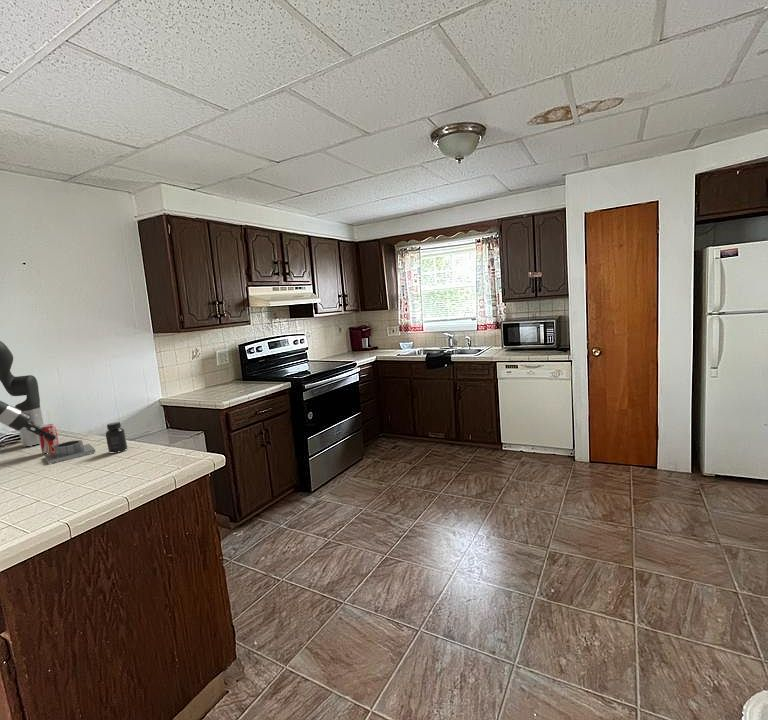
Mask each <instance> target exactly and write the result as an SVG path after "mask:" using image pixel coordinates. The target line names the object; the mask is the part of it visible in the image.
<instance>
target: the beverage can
mask: <svg viewBox="0 0 768 720" xmlns="http://www.w3.org/2000/svg"><path fill="white" fill-rule="evenodd" d="M40 427H42V428H43V430H45V431H47V432H48V433H50V434H52V435H54V436H56V438H55V439H54V440H53V441H51V440H49V439H47V438H45V437H40V436H39V439H40V450H41V453H43V454H45V453H52V452H55V450H54V446H56V445H58V444H60V443H59V438H58V432H57V431H58V430H57V428H56V426H55V425H54V424H53V423H48V424H44V425H43V426H40ZM42 432H43V431H41V432H40V434H41V433H42Z"/></svg>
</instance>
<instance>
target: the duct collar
mask: <svg viewBox="0 0 768 720" xmlns="http://www.w3.org/2000/svg"><path fill="white" fill-rule="evenodd" d="M54 450H55V452H52V453H48V454H45V453H43V454H44V459H45V458H46V459H45V461H46V460H47V461H46V463H47V462H48V463H47V465H48V464H49V465H51V464H50V463H53V464H55V463H54V462H57V461H61V462H63V461H62V460H65V461H67V460H66V459H69V460H72V459H71V458H73V459H76V458H75V457H77V458H80V457H79V456H81V457H84V456H83V455H85V456H87V455H86V454H89V455H91V454H90V453H93V454H95V453H94V452H96V449H95V448H94V447H93V446H92V445H91V444H90V443H87V444H86V443H85V444H84V443H83V440H81V439H80V440H79V439H77V440H71V441H70V440H69V441H64V442H61V443H59V444H58V445H56V446H54ZM57 463H58V462H57Z"/></svg>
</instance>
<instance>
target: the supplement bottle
mask: <svg viewBox="0 0 768 720" xmlns="http://www.w3.org/2000/svg"><path fill="white" fill-rule="evenodd" d="M106 428H107V430H106V432H105V438H106V439H105V440H106V445H107V450H108V453H109V452H118V451H123V450H125V449H127V450H128V444H127V439H126V437H127V436H126V432H125V428H122V425H121V421H118V422H117V421H116V422H112V423H110V422H109V423H107V424H106ZM125 451H126V450H125ZM123 452H124V451H123Z"/></svg>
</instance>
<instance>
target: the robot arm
mask: <svg viewBox="0 0 768 720" xmlns="http://www.w3.org/2000/svg"><path fill="white" fill-rule="evenodd" d="M13 363H14V355H13V353H12V351H11V350H10V349H9V348H8V346H7V345H6V344H5V343H4V342H3V341H1V340H0V382H1V384H2V386H3V387H4V389H5V391H6V392H7V394H9V395H10V396H11V397H21V396H22V397H23V396H26V397H25V400H23V401H22V402H19V403H17V404H15V405H14V406H13V405H9V404H8V403H6V402H5V401H2V400H0V424H3V425H5V426H7V427H9V428H11V429H13V430H16V431H18V432H19V436H20V439H21V445H22V447H23V446H30V445H36V444H40V439H39V436H40V437H45V438H47V439H49V440H51V441H53V440H54V439H55V438H56V436H54V435H52V434H50V433H48V432H47V431H45V430H43V428H42V427H40V426H43V425H45V424H44V419H43V413H42V409H41V398H40V397H41V396H40V392H39V382H38V380H37V378H36V376H34V375H32V374H31V375H29V374H28V375H20V376H15V375H13V373H12V372H11V369H12V365H13ZM41 431H43V432H42V433H41V434H40V432H41ZM40 445H41V444H40ZM36 446H37V445H36Z"/></svg>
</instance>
